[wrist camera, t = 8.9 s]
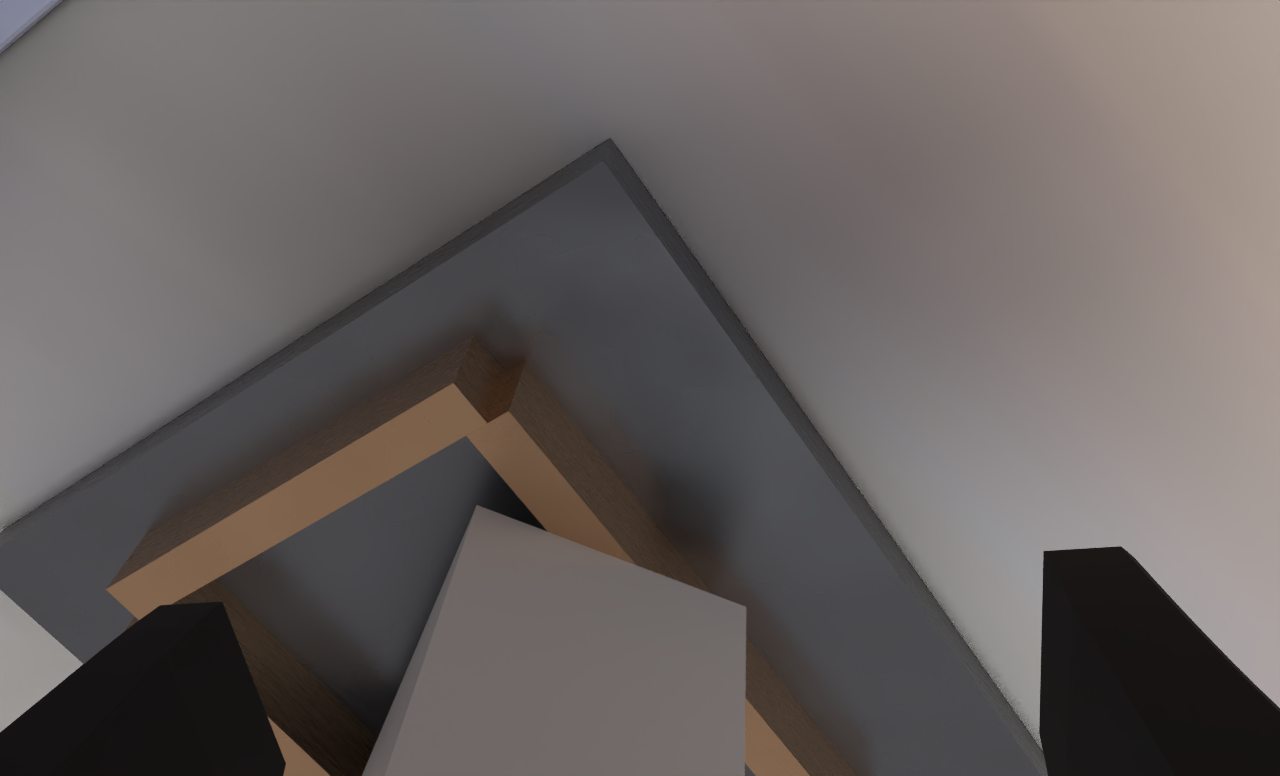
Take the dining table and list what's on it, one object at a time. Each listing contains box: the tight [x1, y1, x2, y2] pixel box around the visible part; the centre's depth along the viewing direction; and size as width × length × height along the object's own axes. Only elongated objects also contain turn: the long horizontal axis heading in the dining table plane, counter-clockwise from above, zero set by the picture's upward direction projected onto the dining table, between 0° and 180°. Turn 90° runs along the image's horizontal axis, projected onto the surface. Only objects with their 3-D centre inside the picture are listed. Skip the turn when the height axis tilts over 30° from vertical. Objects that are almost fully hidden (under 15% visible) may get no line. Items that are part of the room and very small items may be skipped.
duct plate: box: [0, 138, 1048, 776], centre depth 22 cm, size 15×14×2 cm
